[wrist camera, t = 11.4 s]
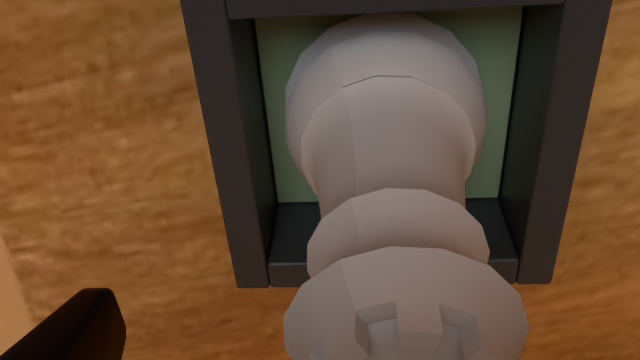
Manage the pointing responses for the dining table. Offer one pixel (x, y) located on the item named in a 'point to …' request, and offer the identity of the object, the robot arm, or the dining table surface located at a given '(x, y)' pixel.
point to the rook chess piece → (394, 199)
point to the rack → (499, 140)
